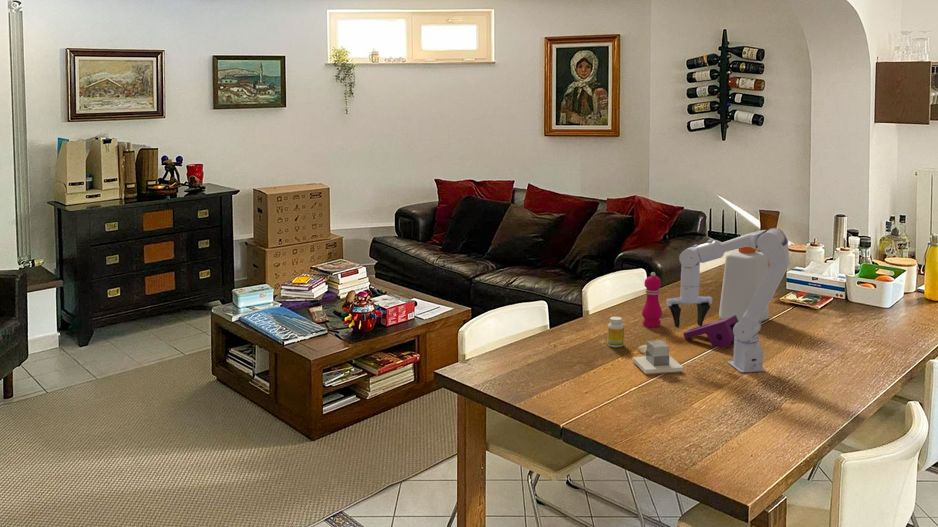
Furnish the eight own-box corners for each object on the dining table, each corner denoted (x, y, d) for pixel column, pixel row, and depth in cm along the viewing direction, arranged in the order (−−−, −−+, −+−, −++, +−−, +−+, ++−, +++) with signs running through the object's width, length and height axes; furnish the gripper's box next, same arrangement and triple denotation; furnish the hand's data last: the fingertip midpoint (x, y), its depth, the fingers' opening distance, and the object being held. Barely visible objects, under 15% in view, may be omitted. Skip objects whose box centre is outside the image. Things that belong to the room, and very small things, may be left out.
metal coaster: (669, 354, 266) (669, 352, 266) (643, 355, 265) (643, 354, 265) (660, 345, 275) (660, 344, 275) (634, 347, 274) (634, 345, 274)
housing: (669, 365, 251) (669, 346, 250) (653, 366, 250) (654, 347, 249) (661, 357, 258) (661, 339, 256) (645, 358, 257) (646, 340, 256)
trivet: (683, 372, 249) (683, 367, 249) (645, 375, 248) (645, 369, 247) (668, 360, 261) (668, 354, 260) (632, 362, 259) (632, 357, 259)
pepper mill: (637, 323, 300) (638, 271, 296) (653, 321, 303) (655, 269, 299) (649, 329, 294) (651, 275, 290) (665, 326, 297) (667, 272, 293)
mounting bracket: (687, 358, 280) (734, 345, 268) (678, 335, 281) (724, 321, 269) (699, 351, 287) (745, 338, 275) (690, 328, 288) (735, 314, 276)
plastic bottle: (736, 311, 314) (740, 240, 308) (772, 319, 303) (777, 245, 297) (714, 318, 305) (717, 245, 299) (750, 327, 293) (754, 251, 287)
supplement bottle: (605, 343, 279) (606, 316, 277) (621, 342, 280) (621, 315, 277) (609, 347, 274) (609, 320, 272) (625, 347, 274) (625, 320, 272)
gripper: (706, 280, 263) (704, 321, 266) (663, 283, 261) (662, 323, 264) (715, 286, 256) (713, 327, 259) (671, 288, 255) (670, 330, 257)
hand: (688, 326), depth 261 cm, fingers open, 7 cm apart
